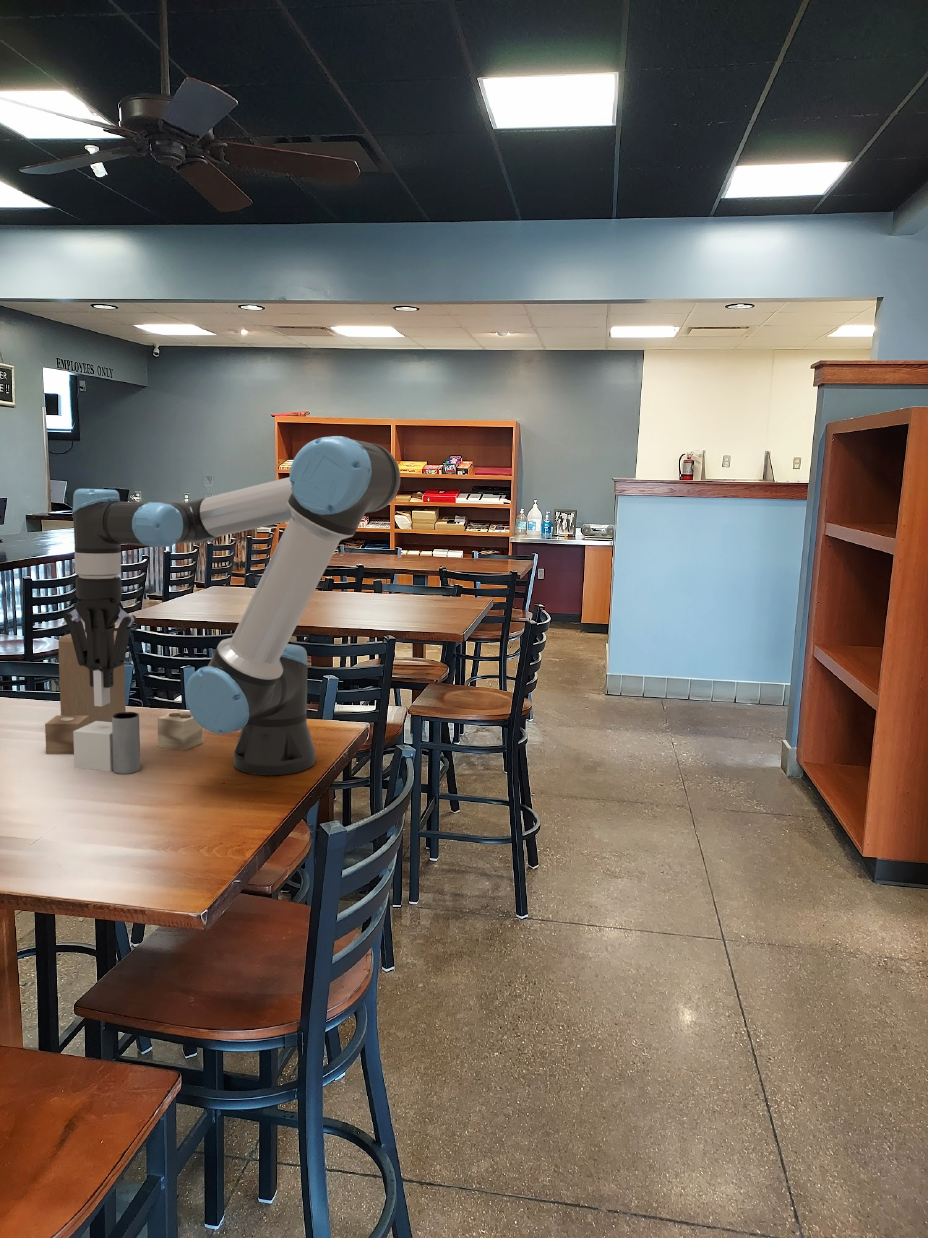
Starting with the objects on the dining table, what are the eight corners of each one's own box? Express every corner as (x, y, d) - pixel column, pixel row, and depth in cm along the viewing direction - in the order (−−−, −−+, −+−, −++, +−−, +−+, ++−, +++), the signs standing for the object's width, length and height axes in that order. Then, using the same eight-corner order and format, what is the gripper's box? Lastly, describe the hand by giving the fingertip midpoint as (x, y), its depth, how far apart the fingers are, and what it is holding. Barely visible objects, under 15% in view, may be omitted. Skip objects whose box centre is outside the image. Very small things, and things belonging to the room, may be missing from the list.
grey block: (131, 759, 153) (130, 723, 152) (110, 771, 146) (109, 734, 145) (97, 756, 154) (96, 721, 153) (74, 768, 147) (73, 731, 146)
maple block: (202, 742, 165) (202, 713, 164) (183, 751, 159) (183, 720, 158) (177, 739, 167) (176, 709, 166) (158, 747, 161) (157, 717, 160)
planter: (145, 768, 148) (144, 714, 147) (126, 776, 144) (125, 719, 143) (127, 764, 150) (126, 710, 149) (107, 771, 146) (106, 716, 145)
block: (107, 733, 168) (104, 638, 165) (59, 731, 168) (55, 636, 165) (127, 720, 178) (125, 630, 175) (82, 718, 178) (79, 628, 175)
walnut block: (89, 745, 161) (88, 714, 160) (79, 754, 155) (78, 723, 154) (57, 745, 160) (56, 714, 159) (46, 754, 154) (44, 723, 153)
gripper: (143, 575, 148) (146, 701, 151) (77, 572, 150) (81, 697, 153) (121, 579, 141) (124, 712, 144) (51, 576, 142) (56, 707, 146)
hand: (102, 704), depth 149 cm, fingers closed
